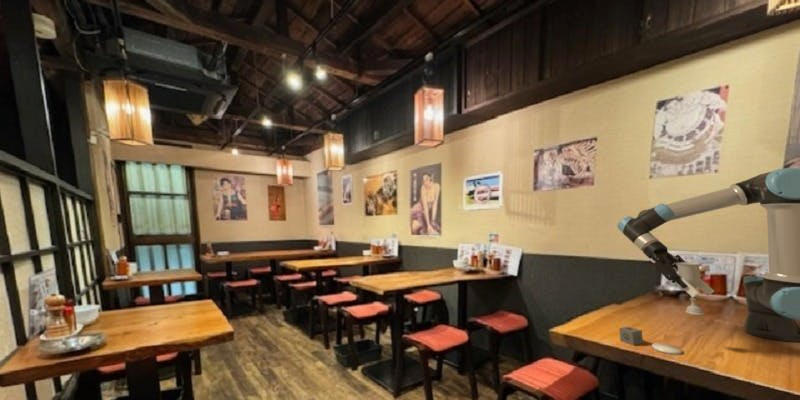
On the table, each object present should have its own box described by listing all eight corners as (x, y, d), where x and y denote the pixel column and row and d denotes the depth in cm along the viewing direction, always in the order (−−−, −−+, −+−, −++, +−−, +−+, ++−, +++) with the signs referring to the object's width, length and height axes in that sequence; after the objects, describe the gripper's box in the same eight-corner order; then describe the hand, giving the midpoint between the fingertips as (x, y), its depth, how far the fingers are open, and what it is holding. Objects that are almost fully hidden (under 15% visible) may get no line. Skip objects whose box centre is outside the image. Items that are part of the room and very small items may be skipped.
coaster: (676, 347, 109) (675, 344, 109) (686, 356, 102) (686, 353, 102) (649, 344, 112) (648, 341, 112) (657, 352, 105) (656, 350, 105)
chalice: (702, 316, 104) (694, 265, 106) (677, 312, 110) (671, 263, 112) (712, 313, 107) (704, 263, 109) (688, 309, 113) (681, 261, 115)
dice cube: (629, 339, 118) (628, 326, 119) (643, 343, 113) (641, 330, 114) (620, 341, 117) (619, 328, 117) (633, 345, 112) (632, 332, 112)
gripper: (663, 251, 128) (715, 297, 110) (627, 253, 124) (675, 302, 106) (675, 239, 123) (731, 285, 106) (637, 241, 120) (690, 290, 102)
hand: (703, 294), depth 106 cm, fingers closed on chalice, 6 cm apart
